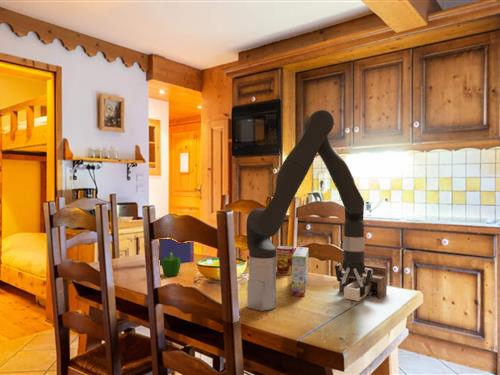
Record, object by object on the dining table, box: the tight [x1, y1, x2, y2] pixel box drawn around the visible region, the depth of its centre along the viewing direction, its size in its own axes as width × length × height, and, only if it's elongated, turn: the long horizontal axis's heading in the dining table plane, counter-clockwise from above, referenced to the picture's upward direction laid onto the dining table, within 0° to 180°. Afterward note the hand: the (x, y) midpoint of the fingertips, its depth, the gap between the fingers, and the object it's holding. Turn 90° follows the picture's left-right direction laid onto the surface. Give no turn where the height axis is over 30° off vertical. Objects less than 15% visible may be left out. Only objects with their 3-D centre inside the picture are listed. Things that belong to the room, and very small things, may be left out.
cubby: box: [338, 264, 388, 299], centre depth 147 cm, size 7×16×10 cm, turn 54°
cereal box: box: [158, 217, 195, 266], centre depth 200 cm, size 17×5×24 cm, turn 120°
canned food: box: [276, 245, 295, 276], centre depth 178 cm, size 8×8×12 cm
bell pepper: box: [161, 253, 181, 277], centre depth 173 cm, size 8×8×10 cm
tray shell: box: [343, 280, 372, 302], centre depth 143 cm, size 14×6×4 cm, turn 144°
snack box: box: [290, 246, 310, 297], centre depth 153 cm, size 21×6×15 cm, turn 168°
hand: (353, 294), depth 139 cm, fingers closed on tray shell, 5 cm apart
